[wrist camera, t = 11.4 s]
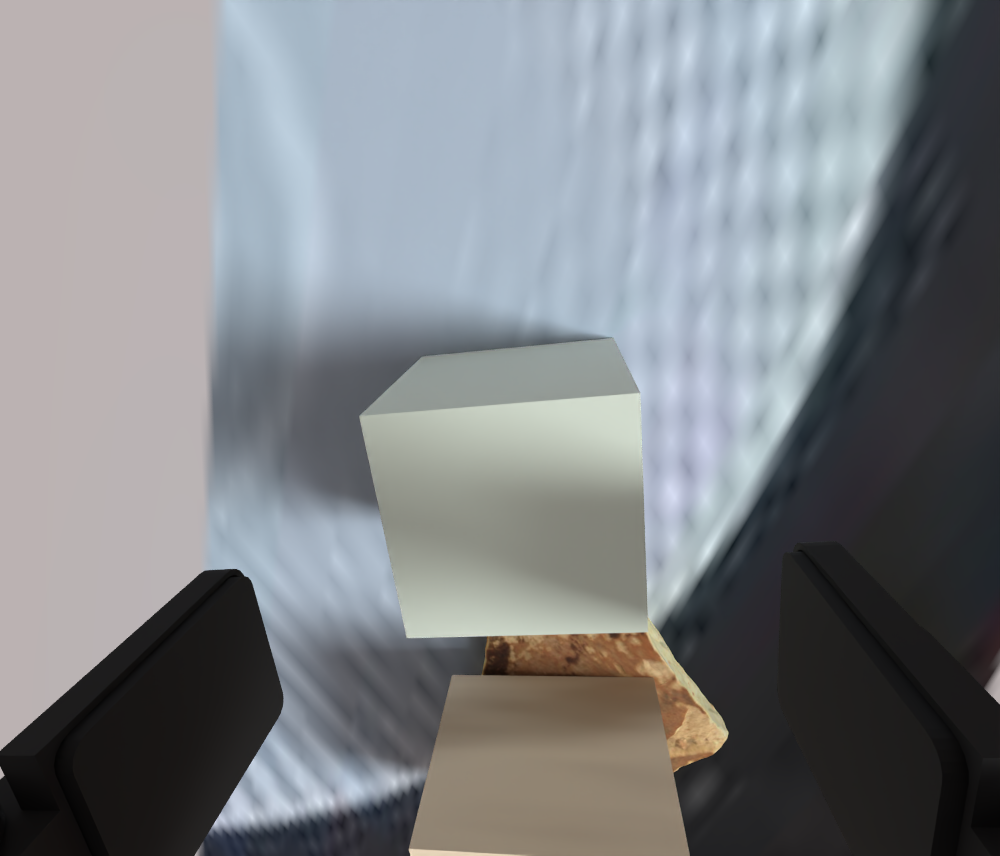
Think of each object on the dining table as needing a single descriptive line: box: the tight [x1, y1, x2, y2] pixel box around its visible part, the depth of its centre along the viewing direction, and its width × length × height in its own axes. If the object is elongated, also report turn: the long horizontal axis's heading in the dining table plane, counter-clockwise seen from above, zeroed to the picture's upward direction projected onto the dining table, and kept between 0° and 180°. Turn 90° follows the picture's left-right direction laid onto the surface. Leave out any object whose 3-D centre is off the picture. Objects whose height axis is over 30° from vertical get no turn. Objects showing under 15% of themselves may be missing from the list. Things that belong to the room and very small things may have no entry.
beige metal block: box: [409, 675, 690, 856], centre depth 15 cm, size 6×6×5 cm
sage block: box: [359, 338, 648, 638], centre depth 13 cm, size 5×5×5 cm
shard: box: [482, 618, 728, 772], centre depth 18 cm, size 11×8×2 cm
